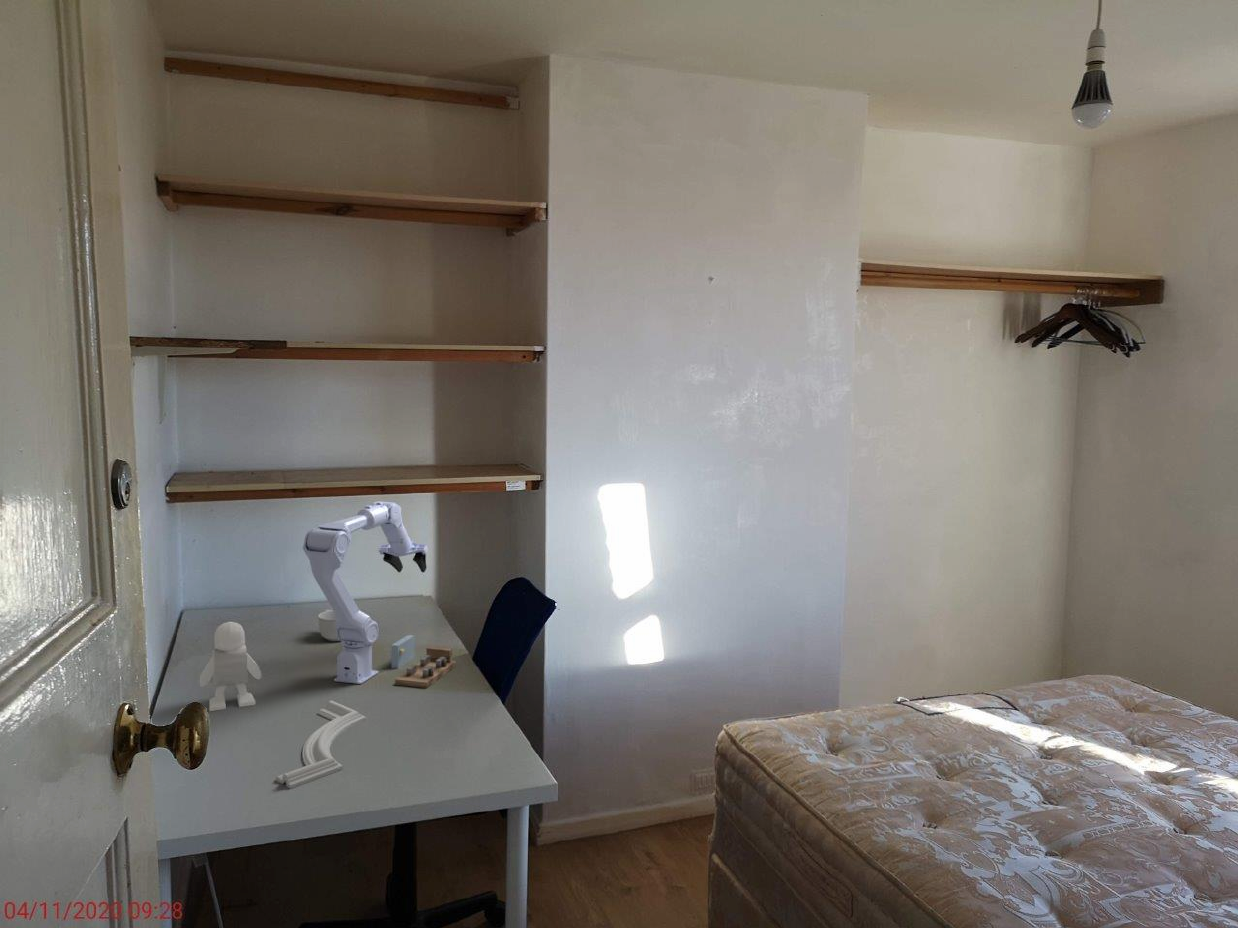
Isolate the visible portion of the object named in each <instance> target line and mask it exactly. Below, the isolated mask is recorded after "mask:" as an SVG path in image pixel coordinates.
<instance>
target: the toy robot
mask: <svg viewBox="0 0 1238 928" xmlns="http://www.w3.org/2000/svg"><path fill="white" fill-rule="evenodd" d="M213 638H214V643H213V645H214V648H212V649H213V650H212V657H211V658H210V660H209V661H208V662H207V664H206V665H205V667H204V668H203V670H202V672H201V674H200V677H199V679H198V680H199V686H200V688H203V687H205V686H206V685H207V684H208V683H209V682H210V680H211V678H212V677H213V686H214V688H215V693H214V695H213V697H212V698H209V705H208V707H209V708H208V709H209V712H214V711H221V710H226V709H227V707H226V697H225V690H226V689H227V687H228V686H233V685H235V686H236V688H237V691H238V692H237V694H236V700H237V703H238V707H239V708H241V707H250V706H255V705H256V699H255V698H254V696H253V694H252V692H248V690H247V686H246V684H248V678H249V677H248V674H249V673H250V674H251V676H252V677H253V678H254V679H256V680H261V679H262V671H261V669H260V667H259V665H258V664H257V662H256V661H255V660H254V659H253V658H252V657H251V655H249V653H248V651H247V646H246V635H245V630H244V628H243V626H242V625H241V623H239V622H238V623H237V622H235V621H227V622H223V623H222V624H219V626H217V628H216V630H215V632H214V637H213ZM248 672H249V673H248Z"/></svg>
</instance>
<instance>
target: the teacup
mask: <svg viewBox="0 0 1238 928" xmlns="http://www.w3.org/2000/svg"><path fill="white" fill-rule="evenodd" d="M317 618H318V626H319V628H318V629H319V632H320V633H319V634H320V636H321V637H323V638H324V639H326V640H327V641H329V642H341V640H339V639H338V637H337V633H336V628H335V626H334V623H335V621H336V619H337V615H336V614H335V612H334V610H333V609H329V608H328V609H327V608H326V609H324V610H323V611H322V612H320V613H319V614H318V615H317Z"/></svg>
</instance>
